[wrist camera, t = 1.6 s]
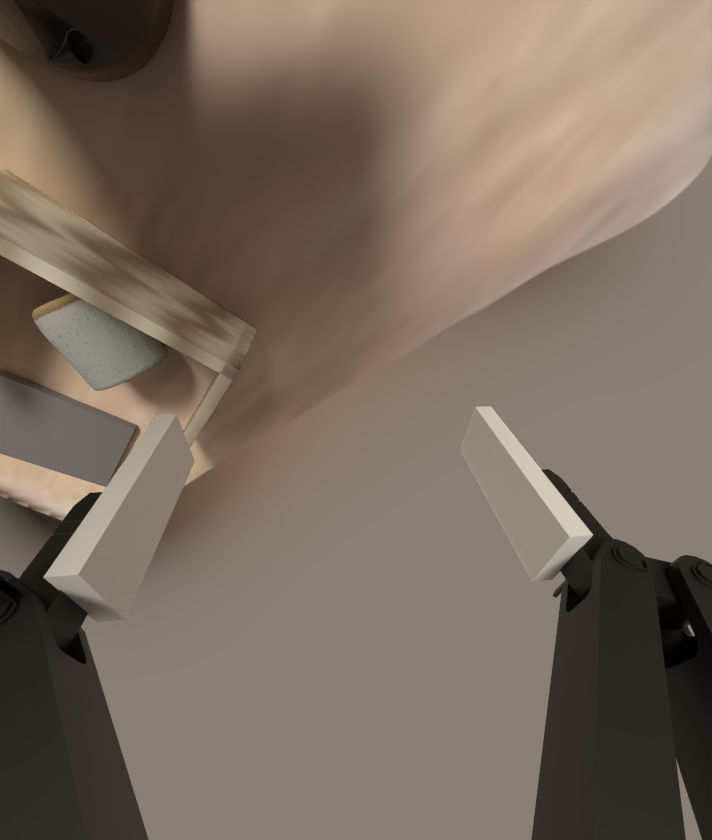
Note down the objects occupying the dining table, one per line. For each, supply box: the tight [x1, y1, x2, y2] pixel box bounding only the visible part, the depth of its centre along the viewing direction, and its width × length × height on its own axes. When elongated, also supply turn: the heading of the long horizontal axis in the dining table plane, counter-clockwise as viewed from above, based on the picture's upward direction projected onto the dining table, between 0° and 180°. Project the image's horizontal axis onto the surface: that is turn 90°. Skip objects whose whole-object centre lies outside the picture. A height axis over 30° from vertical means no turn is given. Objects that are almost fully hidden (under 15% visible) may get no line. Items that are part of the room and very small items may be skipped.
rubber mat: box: [0, 369, 137, 487], centre depth 39 cm, size 15×13×1 cm
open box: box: [0, 166, 257, 448], centre depth 29 cm, size 23×17×10 cm
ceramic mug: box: [32, 293, 167, 391], centre depth 30 cm, size 11×8×8 cm
